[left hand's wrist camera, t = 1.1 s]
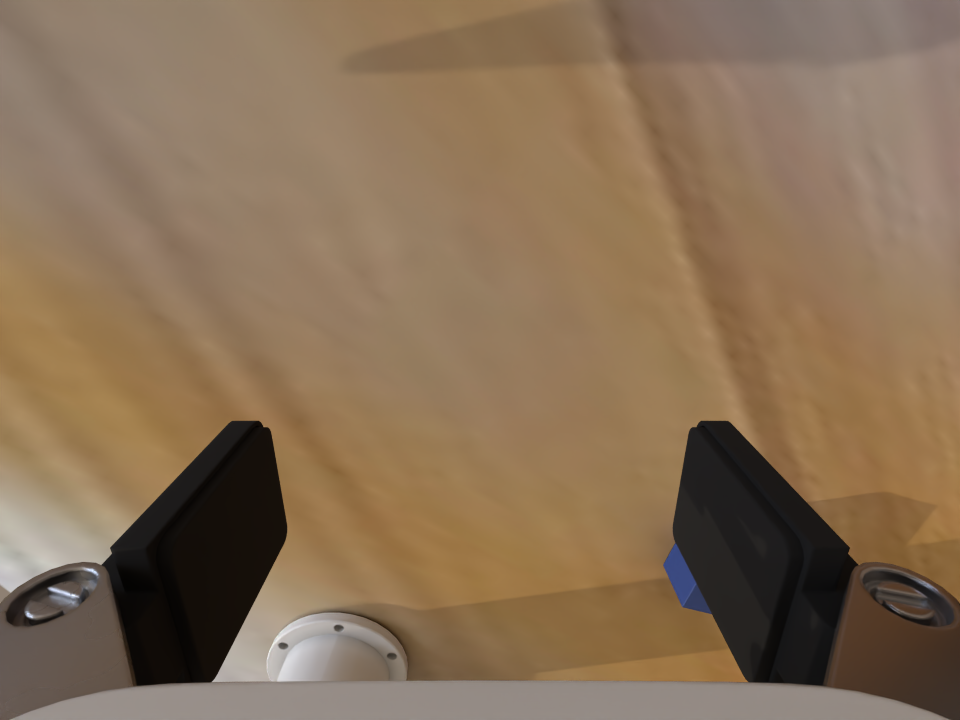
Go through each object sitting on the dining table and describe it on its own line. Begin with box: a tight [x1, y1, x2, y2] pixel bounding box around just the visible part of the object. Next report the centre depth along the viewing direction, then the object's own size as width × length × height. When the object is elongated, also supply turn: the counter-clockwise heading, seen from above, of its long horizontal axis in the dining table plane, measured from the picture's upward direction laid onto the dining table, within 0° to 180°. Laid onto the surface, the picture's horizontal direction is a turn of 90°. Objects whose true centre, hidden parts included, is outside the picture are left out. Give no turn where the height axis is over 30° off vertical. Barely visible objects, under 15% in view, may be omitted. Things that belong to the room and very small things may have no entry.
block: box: [663, 543, 712, 614], centre depth 40 cm, size 5×5×4 cm
